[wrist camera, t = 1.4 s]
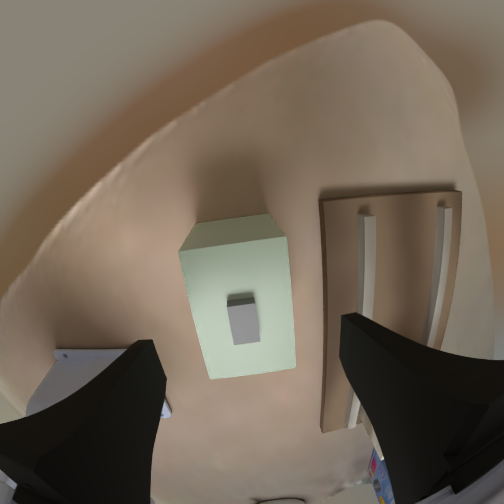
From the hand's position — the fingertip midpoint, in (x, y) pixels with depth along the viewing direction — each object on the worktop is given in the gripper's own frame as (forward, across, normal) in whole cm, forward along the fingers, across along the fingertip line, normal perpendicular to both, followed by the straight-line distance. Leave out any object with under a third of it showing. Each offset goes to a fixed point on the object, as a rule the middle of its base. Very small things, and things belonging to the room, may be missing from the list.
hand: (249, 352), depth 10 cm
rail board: (+8, -11, +7) cm, 16 cm away
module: (+9, 0, 0) cm, 9 cm away
